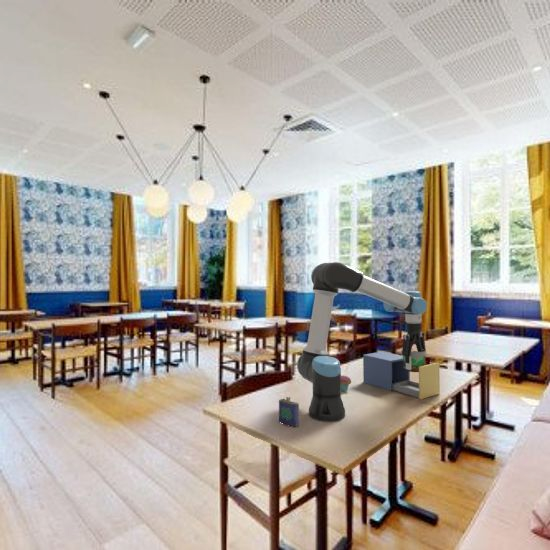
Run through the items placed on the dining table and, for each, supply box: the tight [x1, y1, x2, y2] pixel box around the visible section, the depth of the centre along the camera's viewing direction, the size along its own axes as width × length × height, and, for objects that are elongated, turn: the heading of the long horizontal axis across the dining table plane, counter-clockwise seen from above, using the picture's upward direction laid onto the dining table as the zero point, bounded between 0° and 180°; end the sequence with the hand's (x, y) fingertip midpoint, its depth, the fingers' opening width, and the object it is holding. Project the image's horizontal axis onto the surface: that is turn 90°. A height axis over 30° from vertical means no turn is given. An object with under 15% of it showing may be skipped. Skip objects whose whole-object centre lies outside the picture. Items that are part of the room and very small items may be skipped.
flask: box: [278, 396, 300, 428], centre depth 148 cm, size 9×3×11 cm, turn 51°
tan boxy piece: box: [392, 362, 441, 400], centre depth 187 cm, size 15×17×15 cm
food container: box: [400, 349, 428, 373], centre depth 186 cm, size 12×6×10 cm, turn 70°
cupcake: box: [341, 375, 352, 392], centre depth 192 cm, size 9×8×12 cm
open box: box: [362, 351, 411, 391], centre depth 201 cm, size 15×18×15 cm
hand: (414, 368), depth 187 cm, fingers closed on food container, 8 cm apart
